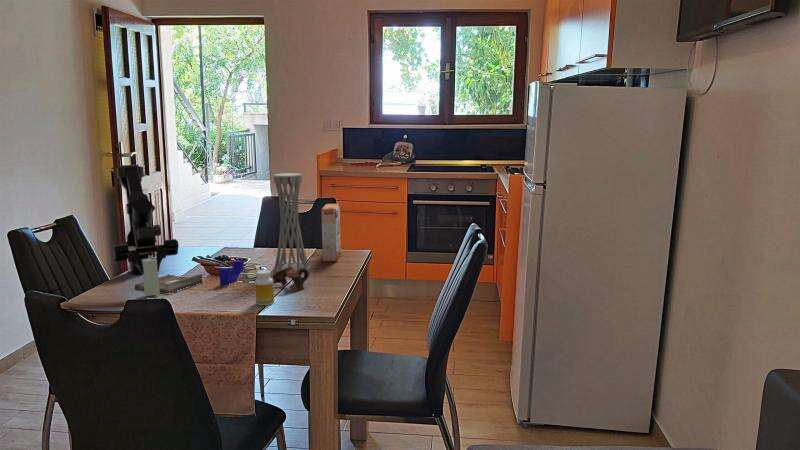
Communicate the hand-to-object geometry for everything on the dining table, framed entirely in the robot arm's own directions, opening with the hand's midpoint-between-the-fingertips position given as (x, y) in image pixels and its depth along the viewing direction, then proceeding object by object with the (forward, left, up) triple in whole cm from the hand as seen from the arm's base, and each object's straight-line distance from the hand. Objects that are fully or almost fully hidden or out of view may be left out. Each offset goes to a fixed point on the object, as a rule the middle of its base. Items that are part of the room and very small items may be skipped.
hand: (150, 272), depth 184 cm
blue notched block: (+8, +25, -8) cm, 28 cm away
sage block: (-1, +1, -7) cm, 7 cm away
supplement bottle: (+36, +11, -8) cm, 38 cm away
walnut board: (-6, +12, -8) cm, 15 cm away
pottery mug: (+33, +28, -8) cm, 44 cm away
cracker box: (+21, +69, -8) cm, 72 cm away
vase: (+18, +47, -8) cm, 51 cm away
